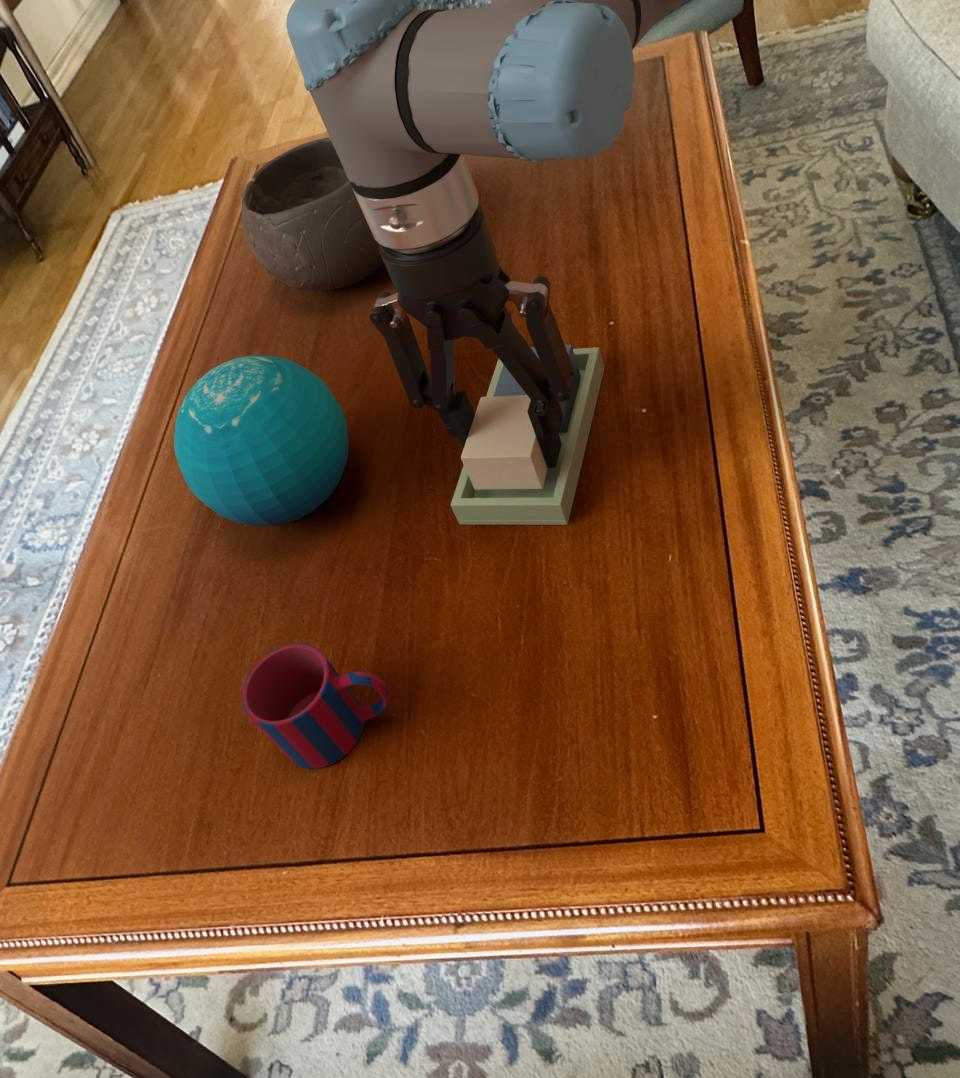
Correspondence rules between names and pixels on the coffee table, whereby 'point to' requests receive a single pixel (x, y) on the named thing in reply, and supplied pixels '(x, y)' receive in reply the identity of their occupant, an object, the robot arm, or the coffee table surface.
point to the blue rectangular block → (512, 388)
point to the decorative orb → (261, 440)
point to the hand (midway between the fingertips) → (516, 456)
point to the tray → (559, 481)
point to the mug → (309, 704)
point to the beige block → (503, 446)
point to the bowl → (308, 221)
